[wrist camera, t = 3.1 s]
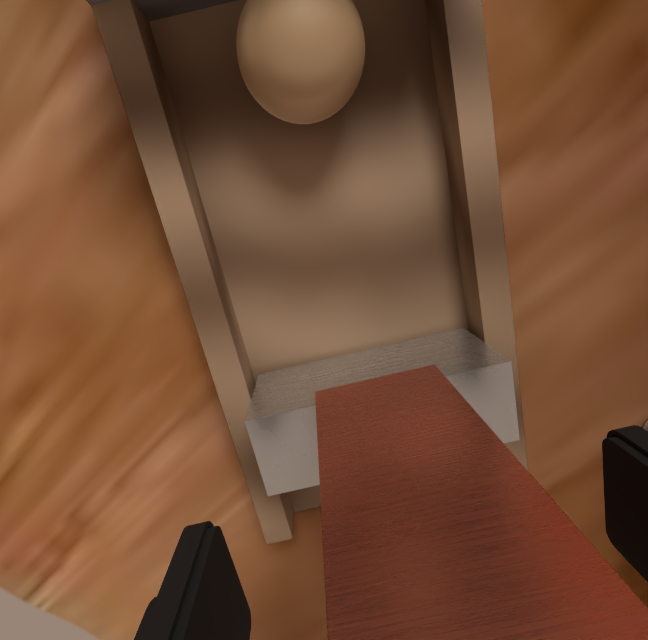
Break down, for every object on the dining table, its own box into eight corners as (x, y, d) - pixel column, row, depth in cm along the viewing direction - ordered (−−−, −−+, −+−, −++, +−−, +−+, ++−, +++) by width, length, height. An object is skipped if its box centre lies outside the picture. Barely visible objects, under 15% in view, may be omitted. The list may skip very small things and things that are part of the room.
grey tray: (101, -50, 14) (-102, -316, 7) (429, -130, 14) (555, -484, 7) (272, 500, 20) (254, 649, 13) (499, 449, 20) (602, 573, 13)
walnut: (232, 25, 14) (204, -50, 10) (344, -1, 14) (359, -87, 10) (262, 146, 15) (247, 120, 11) (365, 121, 15) (387, 87, 11)
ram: (255, 363, 17) (37, 1006, 3) (462, 316, 17) (1169, 769, 3) (279, 444, 18) (192, 1185, 4) (473, 400, 18) (1038, 1018, 4)
